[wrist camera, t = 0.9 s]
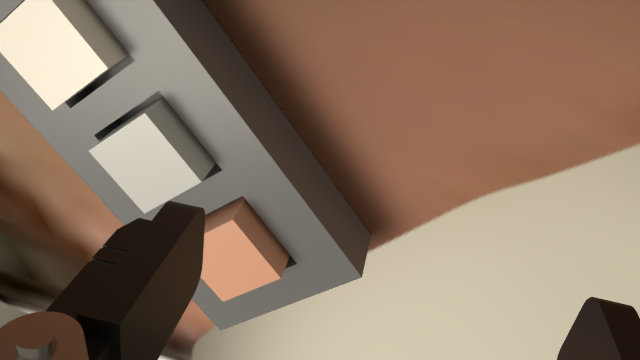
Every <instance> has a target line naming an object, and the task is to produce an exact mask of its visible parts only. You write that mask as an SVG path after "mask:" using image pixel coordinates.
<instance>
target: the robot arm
mask: <svg viewBox="0 0 640 360" xmlns="http://www.w3.org/2000/svg"><path fill="white" fill-rule="evenodd" d="M204 231H205V210H204V209H203V208H201V207H196V206H192V205H187V204H183V203H179V202H174V201H167V202H166V203H165V204H164V206H163V207H162V208H161V209H160V211H159V212H158V213H157V214H156V216H155V217H154V218H153V219H152V221H151V220H146V219H142V218H138V219H136V220H134V221H132V222H130V223H128V224H126V225H124V226H123V227H121V228H119V229H117V230H116V231H115V233H114V234H113V235H112V236H111V237H110V238H109V239H108V241H107V242H106V243H105V244H104V245H103V248H101V249H100V250H99V251H98V252H97V253H96V254H95V255H94V256H93V258H92V261H91V262H88V263H87V264H86V266H85V267H84V268H83V269H82V270H81V271H80V272H79V274H78V275H77V276H76V277H75V278H74V279H73V280H72V281H71V283H70V284H69V285H68V286H67V287H66V288H65V289H64V291H63V292H62V293H61V294H60V295H59V296H58V297H57V299H56V300H55V301H54V302H53V303H52V304H51V305H50V306H49V308H48V309H47V310H46V311H45V312H36V313H31V314H27V315H24V316H21V317H18V318H16V319H14V320H12V321H10V322H8V323H7V324H5V325H4V326H2V327H1V328H0V360H158V358H159V356H160V354H161V352H162V351H163V349H164V347H165V345H166V343H167V342H168V340H169V338H170V336H171V335H172V333H173V331H174V329H175V327H176V326H177V324H178V322H179V320H180V318H181V317H182V315H183V313H184V311H185V310H186V308H187V306H188V304H189V302H190V301H191V299H192V297H193V295H194V293H195V291H196V289H197V286H198V283H199V280H200V277H201V272H202V265H203V249H204ZM557 360H640V318H639V316H638V314H637V312H636V310H635V309H634V308H633V307H632V306H629V305H625V304H621V303H617V302H612V301H608V300H603V299H598V298H594V297H591V298H589V299H587V300H586V302H585V303H584V305H583V306H582V308H581V310H580V312H579V314H578V316H577V318H576V320H575V322H574V324H573V326H572V328H571V329H570V331H569V333H568V335H567V337H566V339H565V341H564V343H563V345H562V347H561V349H560V351H559V354H558V358H557Z"/></svg>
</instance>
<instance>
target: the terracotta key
mask: <svg viewBox="0 0 640 360" xmlns="http://www.w3.org/2000/svg"><path fill="white" fill-rule="evenodd" d="M289 257H290V254H289V253H288V252H287V250H286V249H285V248H284V247H283V245H282V244H281V243H280V242H279V240H278V239H277V238H276V237H275V235H274V234H273V233H272V232H271V230H270V229H269V228H268V227H267V225H266V224H265V223H264V222H263V220H262V219H261V218H260V217H259V215H258V214H257V213H256V212H255V210H254V209H253V208H252V207H251V205H250V204H249V203H248V202H247V200H246V199H245V198H244V197H241V198H239V199H237V200H235V201H233V202H231V203H229V204H227V205H225V206H223V207H222V208H220V209H218V210H216V211H214V212H212V213H210V214H208V215H206V216H205V231H204V249H203V265H202V272H201V278H202V279H203V280H204V281H205V282H206V284H207V285H208V286H209V287H210V288H211V289H212V290H213V291H214V293H215V294H216V295H217V296H218V297H219V298H220V299H221V300H222V301H223V302H224V301H227V300H229V299H232V298H234V297H237V296H239V295H241V294H244V293H246V292H249V291H251V290H254V289H256V288H259V287H261V286H264V285H266V284H268V283H271V282H273V281H276V280H278V279H281V277H282V275H283V272H284V270H285V267H286V265H287V262H288V260H289Z"/></svg>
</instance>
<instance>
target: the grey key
mask: <svg viewBox="0 0 640 360" xmlns="http://www.w3.org/2000/svg"><path fill="white" fill-rule="evenodd" d="M89 152H90V153H91V155H92V156H93V157H94V158H95V159H96V160H97V161H98V162H99V163H100V165H101V166H102V167H103V168H104V169H105V170H106V171H107V172H108V174H109V175H110V176H111V177H112V178H113V179H114V180H115V181H116V183H117V184H118V185H119V186H120V187H121V188H122V189H123V190H124V192H125V193H126V194H127V195H128V196H129V197H130V198H131V199H132V201H133V202H134V203H135V204H136V205H137V206H138V207H139V208H140V209H141V211H142V212H143V213H144V214H145V213H146V212H148V211H150V210H152V209H154V208H156V207H157V206H159V205H161V204H163V203H165V202H166V201H168V200H170V199H172V198H174V197H176V196H177V195H179V194H181V193H183V192H185V191H186V190H188V189H190V188H192V187H194V186H196V185H197V184H199V183H201V182H202V181H203V180H204V178H205V177H206V176H207V174H208V173H209V172H210V170H211V169H212V167H213V166H214V165H215V163H216V162H215V160H214V159H213V158H212V157H211V155H210V154H209V153H208V152H207V150H206V149H205V148H204V147H203V145H202V144H201V143H200V142H199V140H198V139H197V138H196V137H195V135H194V134H193V133H192V132H191V130H190V129H189V128H188V127H187V125H186V124H185V123H184V122H183V120H182V119H181V118H180V117H179V115H178V114H177V113H176V112H175V110H174V109H173V108H172V107H171V105H170V104H169V103H168V102H167V100H166V99H165V98H164V97H163V96H162V97H161V98H159V99H158V100H156V101H155V102H153V103H152V104H150V105H149V106H147V107H146V108H145V109H143V110H142V111H140V112H139V113H137V114H136V115H134V116H133V117H131V118H130V119H128V120H127V121H125V122H124V123H122V124H121V125H119V126H118V127H116V128H115V129H113V130H112V131H111V132H110V133H109V134H108V135H106V136H105V137H104V138H103V139H102V140H100V141H99V142H98V143H97V144H96V145H95V146H93V147H92V148H91V149H90V150H89Z"/></svg>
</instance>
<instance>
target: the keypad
mask: <svg viewBox="0 0 640 360" xmlns="http://www.w3.org/2000/svg"><path fill="white" fill-rule="evenodd" d="M24 1H25V0H0V23H1V22H3V21H4V20H5V19H6V18H7V17H8V16H9V15H10V14H11V13H12V12H13V11H14V10H15V9H16V8H17V7H18V6H20V5H21V4H22V3H23V2H24ZM87 2H88V3H89V4H90V5H91V7H92V8H93V9H94V10H95V12H96V13H97V14H98V15H99V17H100V18H101V19H102V20H103V22H104V23H105V24H106V25H107V27H108V28H109V29H110V30H111V32H112V33H113V34H114V35H115V37H116V38H117V39H118V40H119V42H120V43H121V44H122V45H123V47H124V48H125V49H126V50H127V52H128V53H129V54H130V55H128V56H127V57H126V58H124V59H123V60H122V61H121V62H119V63H118V64H117V65H115V66H114V67H113V68H111V69H110V70H109V71H107V72H106V73H105V74H103V75H102V76H101V77H99V78H98V79H97V80H95V81H94V82H93V83H91V84H90V85H89V86H87V87H86V88H85V89H83V90H82V91H81V92H79V93H78V94H76V95H75V96H73V97H72V98H70V99H69V100H67V101H66V102H65V103H63V104H62V105H60V106H59V107H57V108H56V109H54V110H53V111H52V110H51V109H50V107H49V106H48V105H47V104H46V103H45V102H44V101H43V100H42V98H41V97H40V96H39V95H38V94H37V93H36V92H35V91H34V89H33V88H32V87H31V86H30V85H29V84H28V83H27V82H26V80H25V79H24V78H23V77H22V76H21V75H20V74H19V73H18V71H17V70H16V69H15V68H14V67H13V66H12V65H11V64H10V63H9V61H8V60H7V59H6V58H5V57H4V56H3V55H2V54H1V52H0V90H1V91H2V93H3V94H4V95H5V96H6V97H7V98H8V99H9V100H10V101H11V102H12V103H13V105H14V106H15V107H16V108H17V109H18V110H19V111H20V112H21V113H22V114H23V115H24V117H25V118H26V119H27V120H28V121H29V122H30V123H31V124H32V125H33V126H34V127H35V129H36V130H37V131H38V132H39V133H40V134H41V135H42V136H43V137H44V138H45V139H46V141H47V142H48V143H49V144H50V145H51V146H52V147H53V148H54V149H55V150H56V151H57V153H58V154H59V155H60V156H61V157H62V158H63V159H64V160H65V161H66V162H67V163H68V165H69V166H70V167H71V168H72V169H73V170H74V171H75V172H76V173H77V174H78V175H79V177H80V178H81V179H82V180H83V181H84V182H85V183H86V184H87V185H88V186H89V187H90V189H91V190H92V191H93V192H94V193H95V194H96V195H97V196H98V197H99V198H100V199H101V201H102V202H103V203H104V204H105V205H106V206H107V207H108V208H109V209H110V210H111V211H112V213H113V214H114V215H115V216H116V217H117V218H118V219H119V220H120V221H121V222H122V223H123V225H126V224H128V223H130V222H132V221H134V220H136V219H138V218H142V219H146V220H151V221H152V219H153V218H154V217H155V216H156V214H157V213H158V212H159V211H160V209H161V208H162V207H163V206H164V204H165V203H166V202H167V201H166V202H165V203H163V204H161V205H159V206H157V207H156V208H154V209H152V210H150V211H148V212H146V213H145V214H144V213H143V212H142V211H141V209H140V208H139V207H138V206H137V205H136V204H135V203H134V202H133V201H132V199H131V198H130V197H129V196H128V195H127V194H126V193H125V192H124V190H123V189H122V188H121V187H120V186H119V185H118V184H117V183H116V181H115V180H114V179H113V178H112V177H111V176H110V175H109V174H108V172H107V171H106V170H105V169H104V168H103V167H102V166H101V165H100V163H99V162H98V161H97V160H96V159H95V158H94V157H93V156H92V155H91V153H90V152H89V150H90V149H91V148H92V147H93V146H95V145H96V144H97V143H98V142H99V141H100V140H102V139H103V138H104V137H105V136H106V135H108V134H109V133H110V132H111V131H112V130H113V129H115V128H116V127H118V126H119V125H121V124H122V123H124V122H125V121H127V120H128V119H130V118H131V117H133V116H134V115H136V114H137V113H139V112H140V111H142V110H143V109H145V108H146V107H147V106H149V105H150V104H152V103H153V102H155V101H156V100H158V99H159V98H161V97H162V96H163V97H164V98H165V99H166V100H167V102H168V103H169V104H170V105H171V107H172V108H173V109H174V110H175V112H176V113H177V114H178V115H179V117H180V118H181V119H182V120H183V122H184V123H185V124H186V125H187V127H188V128H189V129H190V130H191V132H192V133H193V134H194V135H195V137H196V138H197V139H198V140H199V142H200V143H201V144H202V145H203V147H204V148H205V149H206V150H207V152H208V153H209V154H210V155H211V157H212V158H213V159H214V160H215V162H216V163H215V165H214V166H213V167H212V169H211V170H210V172H209V173H208V174H207V176H206V177H205V178H204V180H203V181H202V182H201V183H199V184H197V185H196V186H194V187H192V188H190V189H188V190H186V191H185V192H183V193H181V194H179V195H177V196H176V197H174V198H172V199H170V200H168V201H174V202H179V203H183V204H187V205H192V206H196V207H201V208H203V209H204V210H205V216H206V215H208V214H210V213H212V212H214V211H216V210H218V209H220V208H222V207H223V206H225V205H227V204H229V203H231V202H233V201H235V200H237V199H239V198H241V197H244V198H245V199H246V200H247V202H248V203H249V204H250V205H251V207H252V208H253V209H254V210H255V212H256V213H257V214H258V215H259V217H260V218H261V219H262V220H263V222H264V223H265V224H266V225H267V227H268V228H269V229H270V230H271V232H272V233H273V234H274V235H275V237H276V238H277V239H278V240H279V242H280V243H281V244H282V245H283V247H284V248H285V249H286V250H287V252H288V253H289V254H290V257H289V260H288V262H287V265H286V267H285V270H284V272H283V275H282V277H281V279H278V280H276V281H273V282H271V283H268V284H266V285H264V286H261V287H259V288H256V289H254V290H251V291H249V292H246V293H244V294H241V295H239V296H237V297H234V298H232V299H229V300H227V301H224V302H223V301H222V300H221V299H220V298H219V297H218V296H217V295H216V294H215V293H214V291H213V290H212V289H211V288H210V287H209V286H208V285H207V284H206V282H205V281H204V280H203V279H202V278H201V277H200V280H199V283H198V286H197V289H196V291H195V293H194V295H193V297H192V300H193V301H194V302H195V303H196V304H197V305H198V306H199V308H200V309H201V310H202V311H203V312H204V313H205V314H206V315H207V316H208V317H209V318H210V320H211V321H212V322H213V323H214V324H215V325H216V326H217V327H218V328H219V329H220V330H223V329H226V328H228V327H231V326H234V325H236V324H239V323H242V322H244V321H247V320H250V319H252V318H255V317H257V316H260V315H263V314H265V313H268V312H271V311H273V310H276V309H279V308H281V307H284V306H287V305H289V304H292V303H294V302H297V301H300V300H303V299H305V298H308V297H311V296H313V295H316V294H319V293H321V292H324V291H327V290H329V289H332V288H334V287H337V286H340V285H343V284H345V283H348V282H350V281H353V280H356V279H358V278H361V277H362V274H363V269H364V264H365V260H366V255H367V251H368V246H369V242H370V237H371V234H370V233H369V232H368V230H367V229H366V228H365V226H364V225H363V223H362V222H361V221H360V219H359V218H358V216H357V215H356V214H355V212H354V211H353V209H352V208H351V207H350V205H349V204H348V203H347V201H346V200H345V198H344V197H343V196H342V194H341V193H340V191H339V190H338V189H337V187H336V186H335V184H334V183H333V182H332V180H331V179H330V178H329V176H328V175H327V173H326V172H325V171H324V169H323V168H322V166H321V165H320V164H319V162H318V161H317V159H316V158H315V157H314V155H313V154H312V153H311V151H310V150H309V148H308V147H307V146H306V144H305V143H304V141H303V140H302V139H301V137H300V136H299V134H298V133H297V132H296V130H295V129H294V128H293V126H292V125H291V123H290V122H289V121H288V119H287V118H286V116H285V115H284V114H283V112H282V111H281V109H280V108H279V107H278V105H277V104H276V103H275V101H274V100H273V98H272V97H271V96H270V94H269V93H268V91H267V90H266V89H265V87H264V86H263V84H262V83H261V82H260V80H259V79H258V78H257V76H256V75H255V73H254V72H253V71H252V69H251V68H250V66H249V65H248V64H247V62H246V61H245V59H244V58H243V57H242V55H241V54H240V53H239V51H238V50H237V48H236V47H235V46H234V44H233V43H232V41H231V40H230V39H229V37H228V36H227V34H226V33H225V32H224V30H223V29H222V28H221V26H220V25H219V23H218V22H217V21H216V19H215V18H214V16H213V15H212V14H211V12H210V11H209V9H208V8H207V7H206V5H205V4H204V3H203V1H202V0H87Z"/></svg>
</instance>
